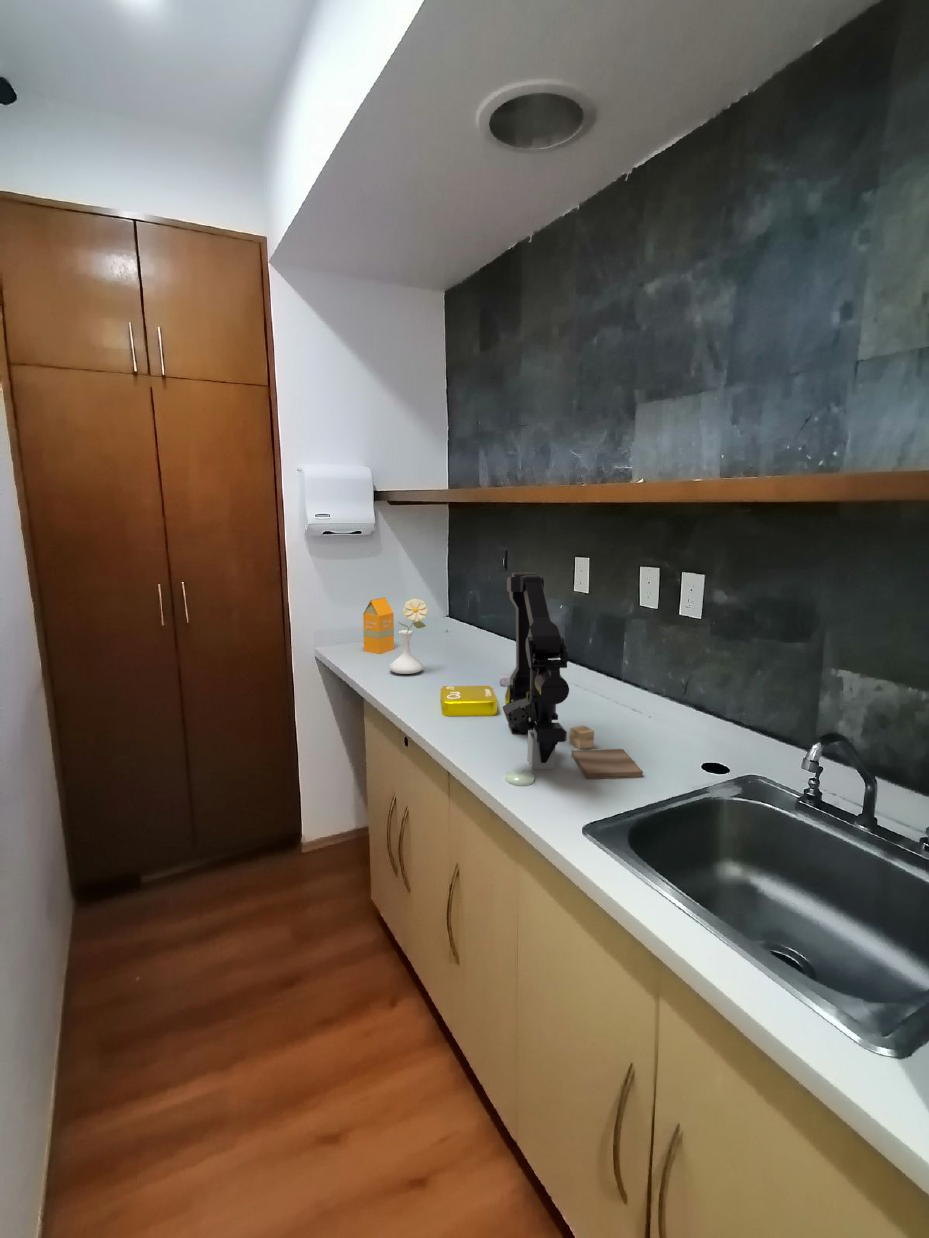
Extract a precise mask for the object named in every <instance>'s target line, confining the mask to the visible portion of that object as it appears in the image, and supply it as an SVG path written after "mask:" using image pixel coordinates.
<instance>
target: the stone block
mask: <svg viewBox="0 0 929 1238" xmlns="http://www.w3.org/2000/svg"><path fill="white" fill-rule="evenodd" d="M514 670H515V668H514V669H512V670H510V671H509V672H508V673H502V674H500V676H499V677H500V678H499V684H500V686H501V687H504V688H507V687H508V685H510V677H511V675H512V673H513V672H514Z"/></svg>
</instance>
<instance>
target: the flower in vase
mask: <svg viewBox="0 0 929 1238" xmlns="http://www.w3.org/2000/svg"><path fill="white" fill-rule="evenodd" d="M428 609H429V608H428V607H427V604H425V601H424V600H421V599H419V598H418V599H417V598H415V597H414V598H413V599H409V600H408V601H405V604H404V607H403V611H402V613H403V614H404V616H405V618H406V619H407V620H409V621H411V622H412V623H411V625H410V626H408V625H406V624H405V623H401V621H398V624H399V625H400V626H402V627H406V628H408V629H405V630H403V629H402V630H399V631H398V633H399V635H400V638H401V641H402V653H401V654H400V655H399V656H398V657H396V659H394V660H393V661H392V662H391V663H390V665H389V667H388V668H389V670H390V671H391V672H393V673H395V674H399V675H400V674H401V675H408V674H409V675H411V674H416V673H419V672H422V670H423V669H424V664H423V663H422V662H421V661H420V660H419V659H417V657H415V656H414V655H412V653H411V648H410V646H411V645H410V644H411V638H412V636H413V634H414V633H415V632H414V630H410V629H411V628H412V626H414V627H415V628H416V629H422V628H425V627H426V624H425V623H423V621H422V620H424V619H426V617H427V615H428V611H429V610H428Z"/></svg>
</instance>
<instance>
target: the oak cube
mask: <svg viewBox="0 0 929 1238" xmlns="http://www.w3.org/2000/svg"><path fill="white" fill-rule="evenodd" d="M594 739H595V730H593V729H592V728H590V727H587V726H586V725H580V726H574V727H569V743H568V744H570V745H571V746H573V747H574V748H576V749H577V750H585V749H589V748H594V742H595V741H594Z"/></svg>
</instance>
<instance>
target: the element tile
mask: <svg viewBox="0 0 929 1238" xmlns="http://www.w3.org/2000/svg"><path fill="white" fill-rule="evenodd" d="M440 708H441V715H442V716H444V717H490V716H491V717H492V716H496V715H497V714H498V699H497V696H496V694H495V691H494V688H493V687H492V686H490V685H445V686H442V687H441V688H440Z"/></svg>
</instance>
